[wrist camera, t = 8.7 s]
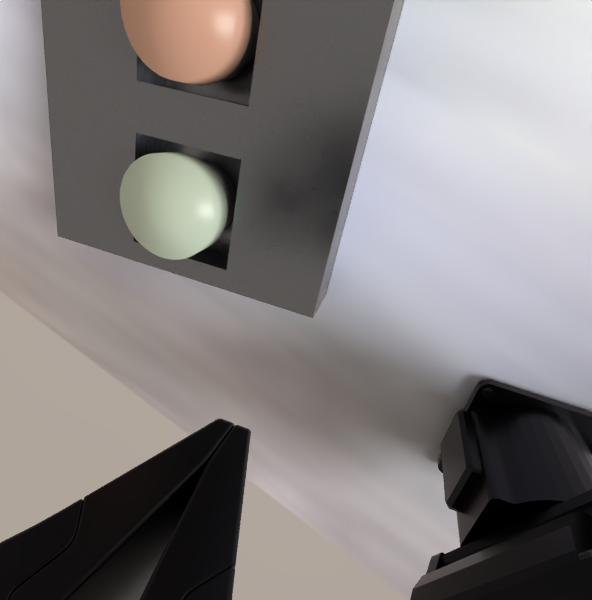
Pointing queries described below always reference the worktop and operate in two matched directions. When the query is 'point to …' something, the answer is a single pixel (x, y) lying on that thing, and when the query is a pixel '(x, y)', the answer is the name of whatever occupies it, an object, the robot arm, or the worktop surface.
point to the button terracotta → (192, 37)
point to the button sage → (176, 203)
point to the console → (224, 136)
